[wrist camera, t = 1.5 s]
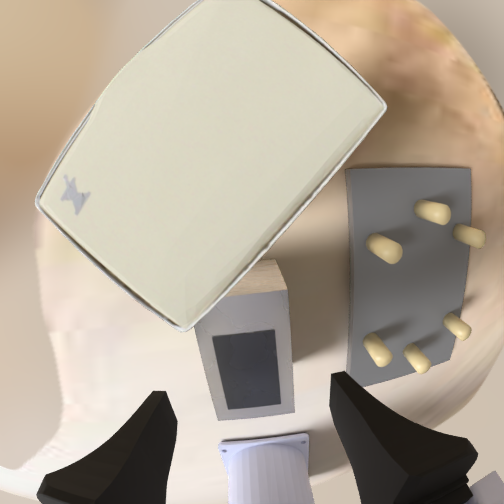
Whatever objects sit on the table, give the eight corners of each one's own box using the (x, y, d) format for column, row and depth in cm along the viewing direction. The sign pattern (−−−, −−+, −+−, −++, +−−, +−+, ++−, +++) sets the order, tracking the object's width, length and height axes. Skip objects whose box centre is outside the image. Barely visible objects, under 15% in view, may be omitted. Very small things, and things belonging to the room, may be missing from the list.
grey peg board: (445, 355, 21) (464, 375, 18) (345, 384, 21) (358, 412, 18) (463, 168, 17) (493, 170, 14) (345, 169, 17) (367, 169, 13)
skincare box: (217, 232, 17) (177, 353, 5) (161, 184, 16) (22, 215, 5) (291, 150, 16) (403, 107, 4) (235, 101, 15) (229, -32, 4)
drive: (283, 364, 20) (294, 413, 15) (221, 371, 20) (218, 421, 15) (274, 258, 18) (288, 290, 13) (201, 266, 18) (188, 301, 13)
